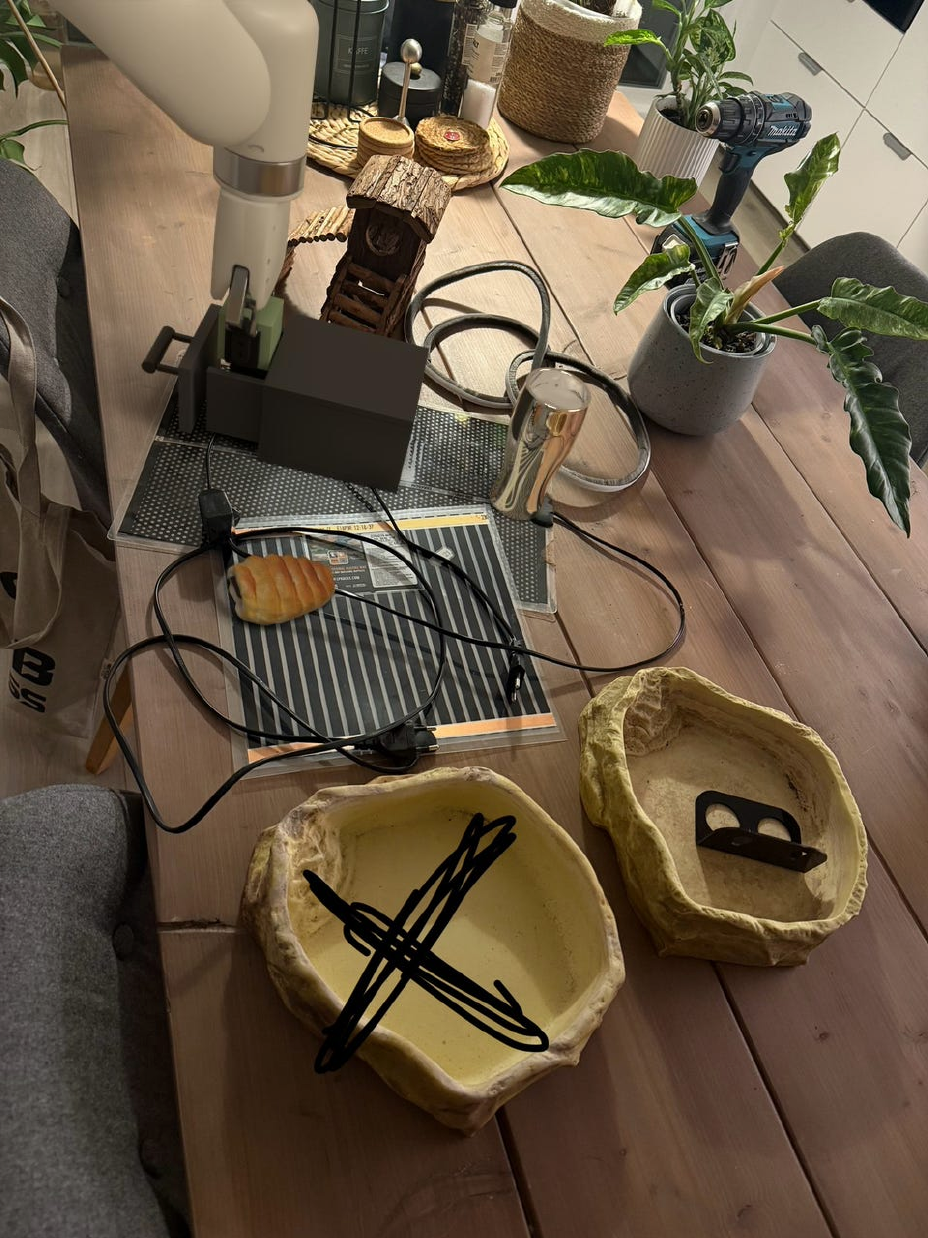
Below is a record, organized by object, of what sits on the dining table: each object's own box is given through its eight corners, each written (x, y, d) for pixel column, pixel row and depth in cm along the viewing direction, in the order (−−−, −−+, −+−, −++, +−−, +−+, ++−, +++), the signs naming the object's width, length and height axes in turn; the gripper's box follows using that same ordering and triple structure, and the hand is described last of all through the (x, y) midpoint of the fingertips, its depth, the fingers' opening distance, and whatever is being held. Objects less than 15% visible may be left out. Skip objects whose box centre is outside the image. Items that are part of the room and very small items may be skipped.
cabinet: (257, 460, 90) (262, 383, 83) (284, 387, 98) (291, 312, 91) (397, 493, 92) (414, 421, 84) (412, 419, 100) (429, 348, 92)
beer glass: (493, 524, 92) (535, 411, 81) (477, 478, 96) (515, 363, 85) (554, 523, 94) (603, 413, 83) (536, 478, 98) (580, 367, 87)
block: (217, 358, 85) (218, 312, 81) (230, 330, 88) (232, 285, 85) (268, 371, 86) (272, 326, 82) (280, 342, 89) (284, 299, 85)
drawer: (135, 420, 88) (131, 354, 82) (170, 355, 95) (168, 291, 90) (311, 462, 90) (319, 401, 84) (332, 396, 98) (340, 336, 92)
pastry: (320, 560, 83) (325, 533, 81) (344, 615, 80) (349, 589, 77) (221, 577, 79) (222, 549, 77) (241, 635, 76) (243, 608, 73)
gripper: (240, 111, 78) (233, 293, 92) (184, 195, 67) (185, 389, 81) (323, 135, 79) (303, 312, 93) (281, 222, 68) (266, 409, 82)
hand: (248, 346), depth 87 cm, fingers closed on block, 5 cm apart
